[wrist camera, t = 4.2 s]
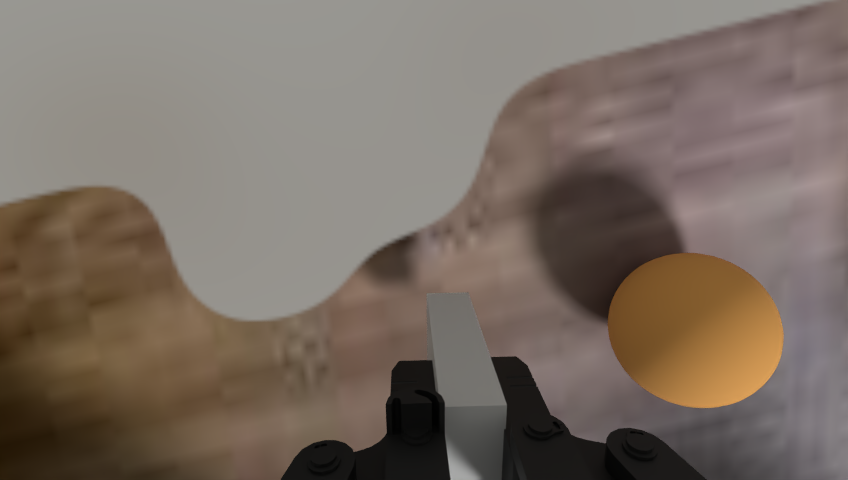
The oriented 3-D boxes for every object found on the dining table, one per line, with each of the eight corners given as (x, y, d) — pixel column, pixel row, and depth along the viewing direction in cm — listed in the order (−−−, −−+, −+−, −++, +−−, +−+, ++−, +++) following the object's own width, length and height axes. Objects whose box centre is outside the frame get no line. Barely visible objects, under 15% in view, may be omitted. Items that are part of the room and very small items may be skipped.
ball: (580, 358, 20) (643, 447, 15) (591, 237, 19) (665, 287, 14) (703, 355, 21) (808, 440, 15) (724, 234, 19) (847, 282, 14)
